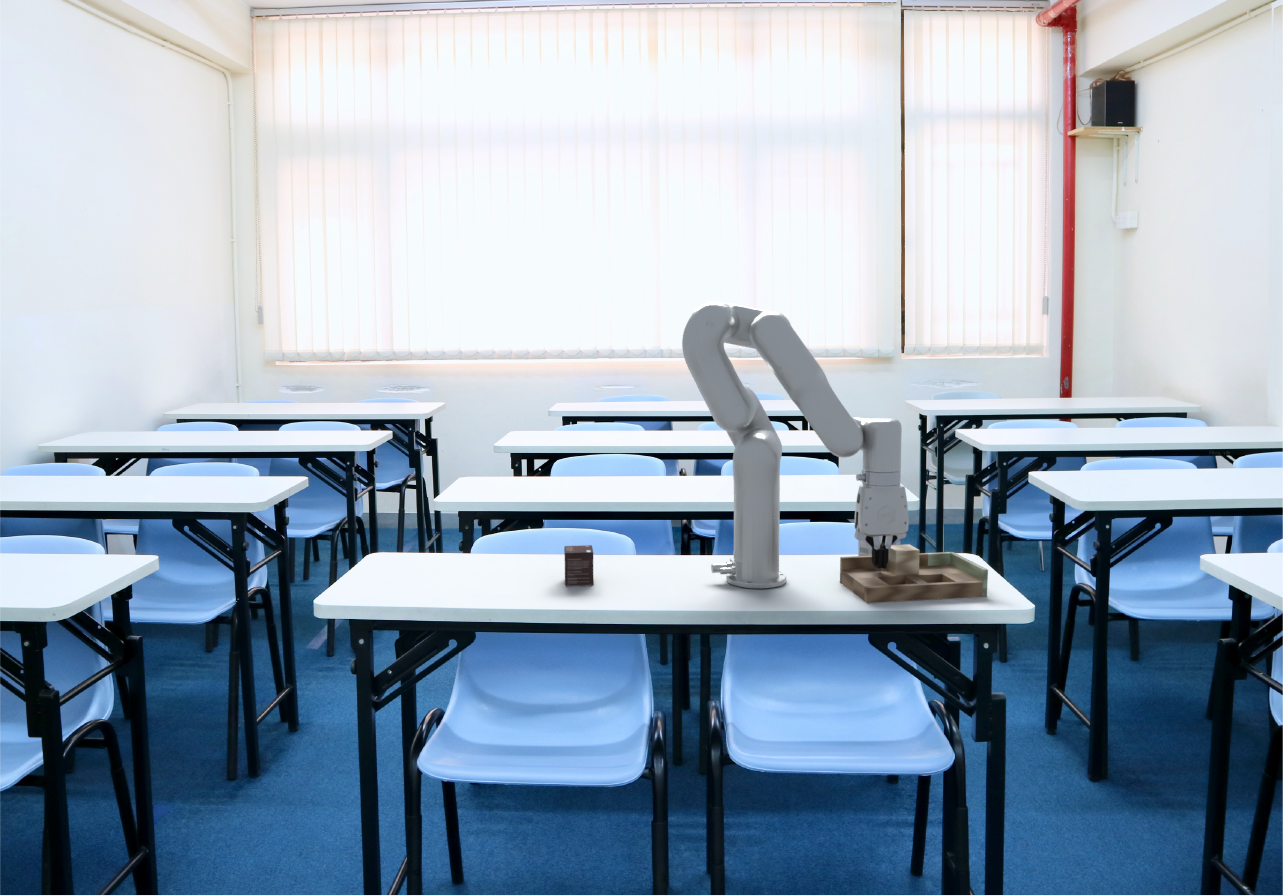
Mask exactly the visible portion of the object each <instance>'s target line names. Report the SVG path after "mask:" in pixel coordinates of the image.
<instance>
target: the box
mask: <svg viewBox="0 0 1283 896" xmlns="http://www.w3.org/2000/svg"><path fill="white" fill-rule="evenodd" d="M593 548H594V547H593V545H591V544H587V545H564V550H563V551H564V586H565V587H575V586H576V587H577V586H582V587H584V586H594V585H595V583H594V549H593Z"/></svg>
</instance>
